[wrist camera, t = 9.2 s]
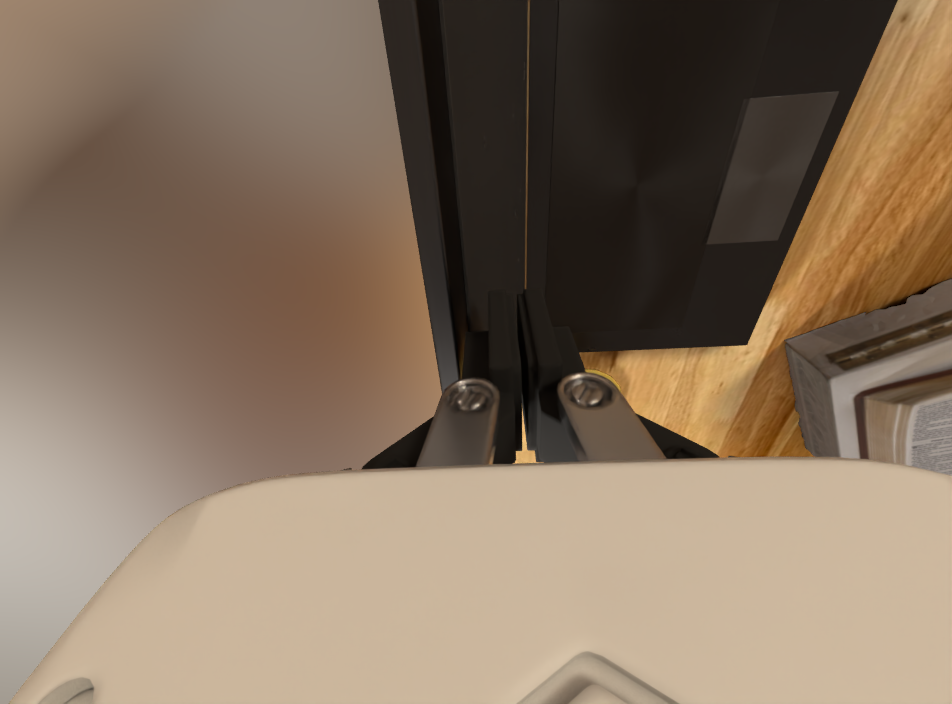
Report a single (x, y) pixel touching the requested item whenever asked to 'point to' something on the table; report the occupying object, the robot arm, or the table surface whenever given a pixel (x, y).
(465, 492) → the robot arm
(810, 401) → the bible
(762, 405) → the table surface
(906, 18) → the table surface
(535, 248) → the laptop
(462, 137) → the laptop screen
